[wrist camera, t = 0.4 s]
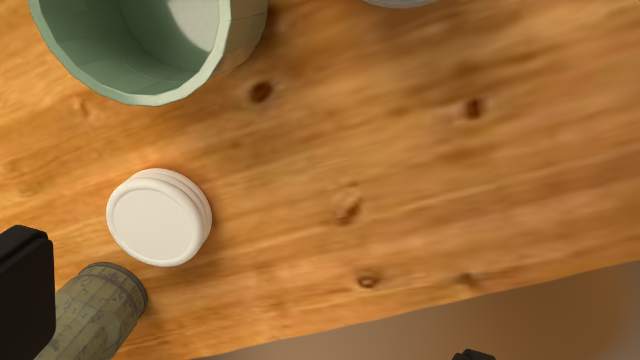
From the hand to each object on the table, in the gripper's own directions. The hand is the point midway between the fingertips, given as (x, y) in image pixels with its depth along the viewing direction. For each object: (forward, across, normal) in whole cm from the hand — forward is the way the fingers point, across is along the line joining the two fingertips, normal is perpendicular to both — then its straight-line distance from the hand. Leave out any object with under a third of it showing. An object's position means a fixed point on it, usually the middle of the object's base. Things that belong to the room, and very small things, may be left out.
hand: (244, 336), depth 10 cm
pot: (+30, +14, -3) cm, 34 cm away
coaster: (+31, +14, +18) cm, 38 cm away
